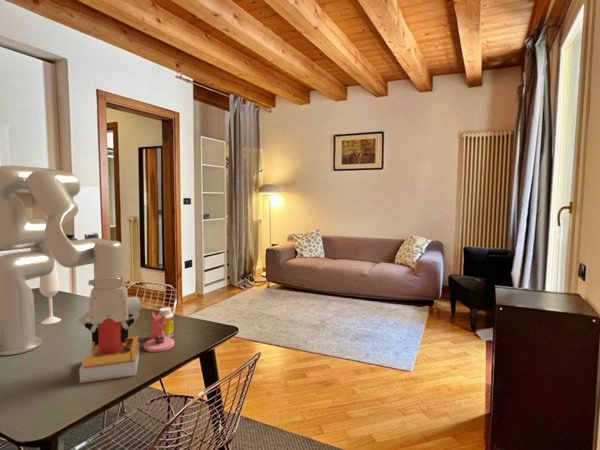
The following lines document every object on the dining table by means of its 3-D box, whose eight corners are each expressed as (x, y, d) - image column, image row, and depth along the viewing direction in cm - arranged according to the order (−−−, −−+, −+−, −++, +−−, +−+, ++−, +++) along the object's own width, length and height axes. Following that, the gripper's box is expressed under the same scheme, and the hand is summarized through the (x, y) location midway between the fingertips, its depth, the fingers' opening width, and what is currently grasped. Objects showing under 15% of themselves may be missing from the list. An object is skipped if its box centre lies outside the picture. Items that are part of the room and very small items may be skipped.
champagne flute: (53, 324, 141) (50, 263, 139) (36, 323, 141) (33, 263, 139) (65, 318, 148) (62, 260, 146) (48, 317, 148) (46, 260, 146)
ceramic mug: (142, 314, 154) (141, 297, 153) (121, 318, 149) (120, 300, 148) (136, 308, 162) (136, 291, 162) (116, 311, 157) (116, 294, 157)
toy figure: (180, 343, 126) (180, 309, 125) (159, 354, 117) (158, 318, 116) (159, 338, 130) (158, 305, 129) (137, 348, 121) (136, 313, 120)
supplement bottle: (173, 338, 130) (173, 310, 129) (157, 340, 128) (156, 312, 127) (173, 332, 135) (173, 305, 134) (157, 334, 133) (157, 307, 132)
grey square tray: (79, 383, 99) (79, 360, 98) (89, 360, 112) (89, 340, 111) (135, 375, 104) (135, 353, 103) (139, 354, 117) (138, 335, 116)
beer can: (112, 357, 104) (111, 317, 102) (92, 355, 105) (91, 315, 104) (128, 348, 110) (127, 309, 109) (109, 345, 111) (108, 308, 110)
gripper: (71, 288, 99) (73, 351, 101) (140, 284, 105) (141, 343, 107) (77, 282, 106) (79, 340, 108) (142, 278, 112) (143, 334, 114)
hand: (110, 341), depth 107 cm, fingers closed on beer can, 6 cm apart
